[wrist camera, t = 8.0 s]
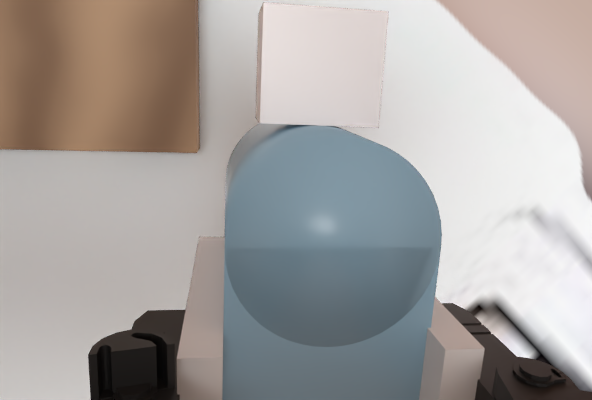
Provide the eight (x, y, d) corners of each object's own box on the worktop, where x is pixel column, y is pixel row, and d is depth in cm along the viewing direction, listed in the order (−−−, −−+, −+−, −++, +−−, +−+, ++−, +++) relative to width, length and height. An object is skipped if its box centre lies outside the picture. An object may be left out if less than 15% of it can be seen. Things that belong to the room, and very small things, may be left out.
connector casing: (222, 415, 16) (219, 603, 10) (228, 22, 13) (228, -24, 7) (339, 410, 17) (399, 584, 11) (369, 31, 14) (472, -4, 8)
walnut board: (-109, 141, 26) (-136, 146, 24) (-156, -161, 22) (-193, -185, 20) (199, 148, 28) (196, 152, 26) (196, -129, 24) (193, -147, 22)
